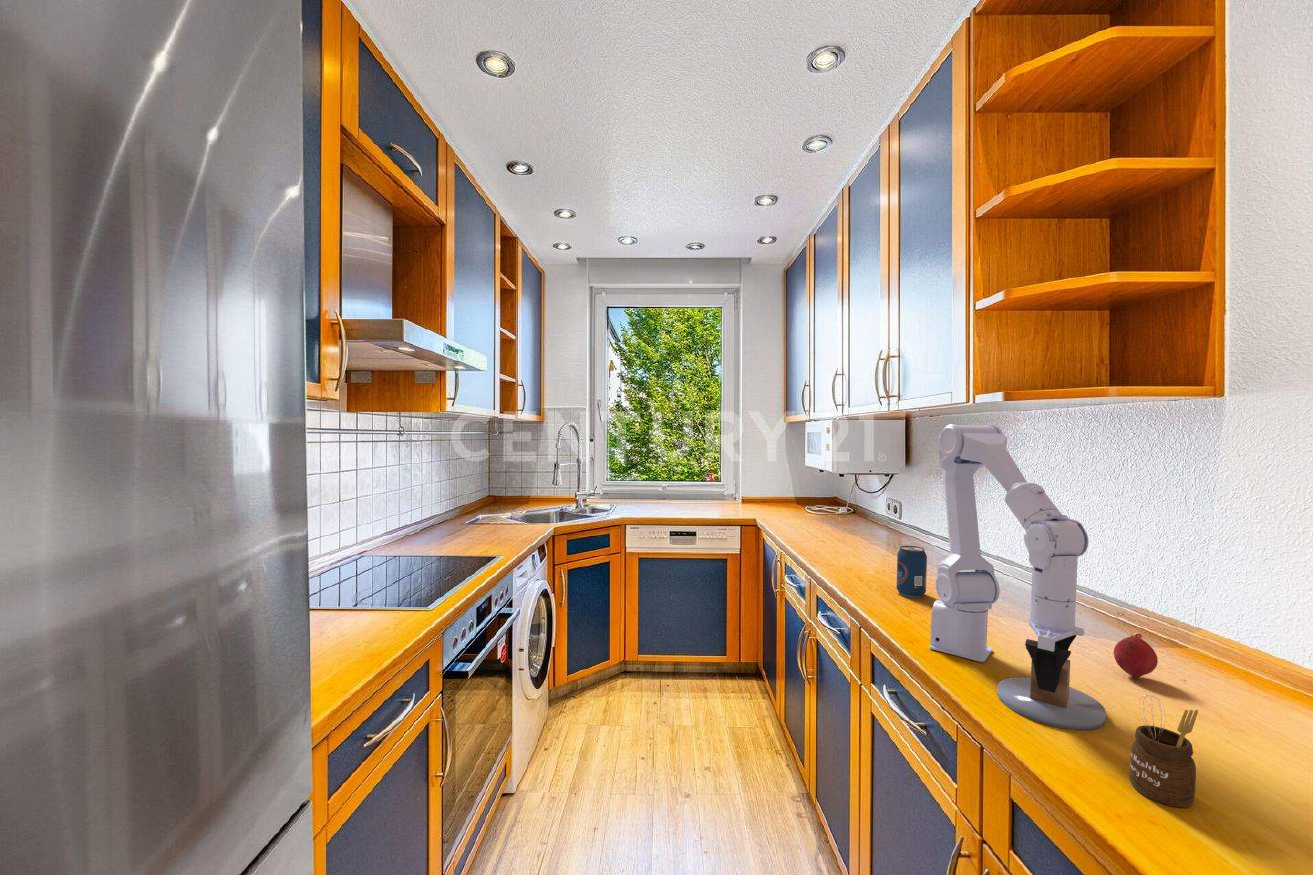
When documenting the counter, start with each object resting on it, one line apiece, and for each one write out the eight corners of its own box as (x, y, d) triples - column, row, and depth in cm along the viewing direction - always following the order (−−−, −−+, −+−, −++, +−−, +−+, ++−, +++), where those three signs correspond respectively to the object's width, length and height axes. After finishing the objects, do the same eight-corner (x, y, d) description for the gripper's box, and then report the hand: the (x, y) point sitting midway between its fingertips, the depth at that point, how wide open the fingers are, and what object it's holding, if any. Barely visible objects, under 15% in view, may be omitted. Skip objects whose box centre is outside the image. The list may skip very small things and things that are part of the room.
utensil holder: (1161, 776, 71) (1165, 683, 71) (1211, 811, 65) (1217, 709, 64) (1116, 776, 71) (1120, 683, 71) (1162, 811, 65) (1167, 710, 64)
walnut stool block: (1030, 698, 88) (1031, 661, 88) (1034, 687, 92) (1035, 652, 91) (1066, 708, 85) (1067, 670, 85) (1068, 697, 89) (1070, 660, 88)
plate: (989, 706, 88) (989, 699, 88) (1006, 676, 98) (1006, 669, 98) (1103, 741, 79) (1103, 733, 79) (1108, 703, 89) (1108, 696, 89)
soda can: (891, 590, 147) (892, 544, 147) (916, 589, 148) (918, 544, 147) (904, 598, 140) (906, 551, 140) (931, 598, 141) (932, 551, 140)
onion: (1139, 687, 95) (1142, 640, 95) (1104, 671, 101) (1106, 628, 100) (1164, 683, 97) (1166, 637, 96) (1128, 668, 102) (1130, 625, 102)
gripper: (1081, 614, 80) (1077, 707, 80) (1088, 591, 91) (1085, 673, 91) (1022, 603, 84) (1019, 691, 85) (1036, 582, 95) (1033, 660, 96)
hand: (1050, 681), depth 88 cm, fingers open, 7 cm apart
